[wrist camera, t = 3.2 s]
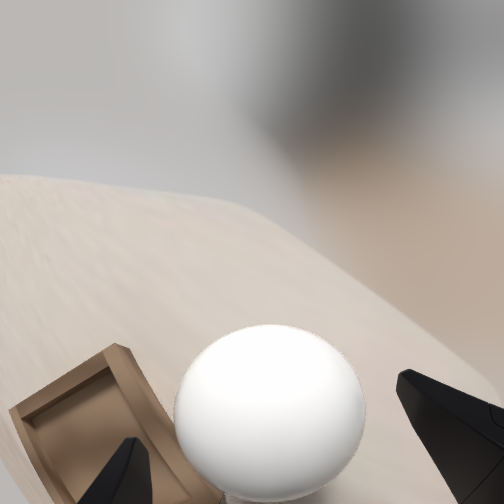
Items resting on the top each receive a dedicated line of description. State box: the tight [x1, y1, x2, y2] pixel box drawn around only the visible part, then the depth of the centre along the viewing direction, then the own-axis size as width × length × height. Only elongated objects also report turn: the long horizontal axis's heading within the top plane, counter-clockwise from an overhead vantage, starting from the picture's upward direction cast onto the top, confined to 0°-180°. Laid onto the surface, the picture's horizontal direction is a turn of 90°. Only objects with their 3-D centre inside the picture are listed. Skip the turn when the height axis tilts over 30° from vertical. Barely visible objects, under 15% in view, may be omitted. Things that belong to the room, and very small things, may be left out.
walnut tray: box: [9, 343, 224, 504], centre depth 13 cm, size 11×11×2 cm
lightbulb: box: [174, 324, 366, 503], centre depth 11 cm, size 6×6×11 cm
